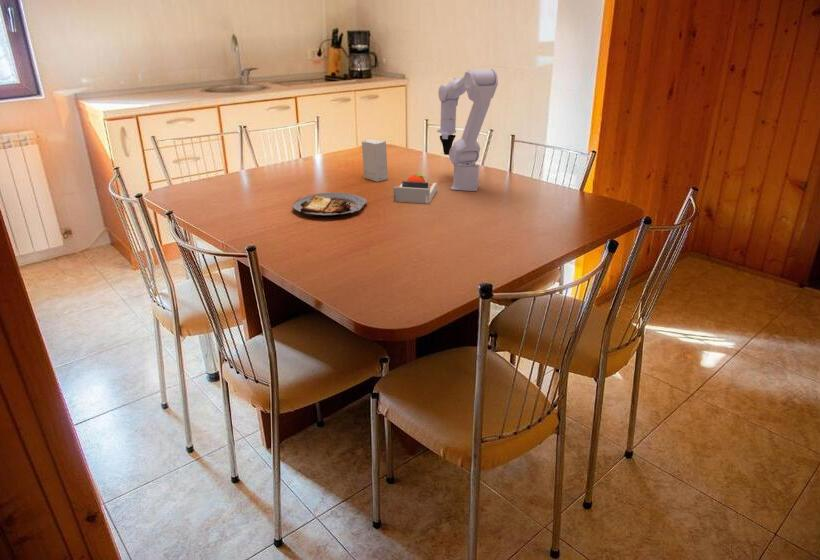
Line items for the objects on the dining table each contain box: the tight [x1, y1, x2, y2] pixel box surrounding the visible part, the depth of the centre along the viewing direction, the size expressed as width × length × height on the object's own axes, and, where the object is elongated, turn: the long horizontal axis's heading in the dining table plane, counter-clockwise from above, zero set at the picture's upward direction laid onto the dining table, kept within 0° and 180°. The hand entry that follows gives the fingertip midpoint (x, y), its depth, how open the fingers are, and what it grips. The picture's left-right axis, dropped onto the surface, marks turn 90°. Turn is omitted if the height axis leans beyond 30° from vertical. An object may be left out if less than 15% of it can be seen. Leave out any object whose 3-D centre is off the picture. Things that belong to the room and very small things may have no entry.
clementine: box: [406, 174, 429, 182], centre depth 210 cm, size 8×7×7 cm
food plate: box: [291, 192, 368, 217], centre depth 195 cm, size 25×23×4 cm
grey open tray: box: [393, 182, 438, 205], centre depth 208 cm, size 12×16×5 cm
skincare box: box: [361, 138, 389, 182], centre depth 227 cm, size 8×6×15 cm
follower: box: [401, 180, 430, 189], centre depth 207 cm, size 9×1×5 cm, turn 78°
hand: (447, 154), depth 227 cm, fingers closed
